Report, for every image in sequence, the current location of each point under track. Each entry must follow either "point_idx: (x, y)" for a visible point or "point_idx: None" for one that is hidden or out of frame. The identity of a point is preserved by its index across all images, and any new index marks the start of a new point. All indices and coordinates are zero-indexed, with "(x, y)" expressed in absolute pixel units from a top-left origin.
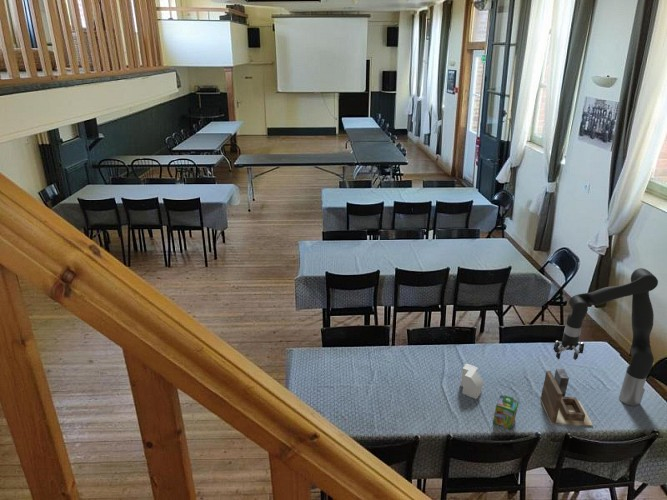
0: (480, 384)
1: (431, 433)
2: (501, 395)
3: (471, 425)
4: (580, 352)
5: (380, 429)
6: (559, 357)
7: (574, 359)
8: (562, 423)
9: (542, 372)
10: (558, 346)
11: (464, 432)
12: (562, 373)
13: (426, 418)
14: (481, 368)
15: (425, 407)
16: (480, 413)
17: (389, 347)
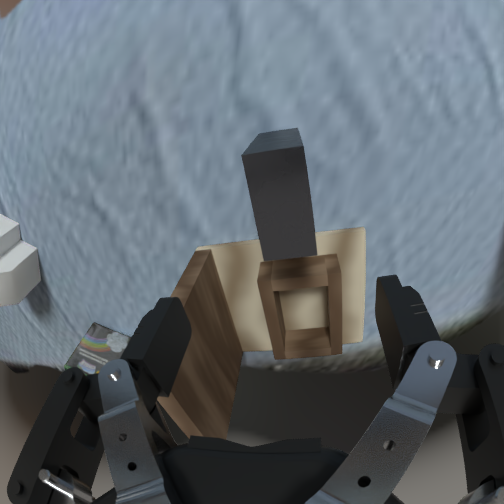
0: (14, 289)
1: (40, 364)
2: (65, 368)
3: (70, 354)
4: (455, 408)
5: (3, 353)
6: (182, 352)
7: (375, 312)
8: (264, 350)
9: (220, 28)
10: (89, 485)
11: None
12: (282, 207)
13: (18, 337)
14: (10, 126)
15: (3, 314)
16: (67, 325)
17: None
